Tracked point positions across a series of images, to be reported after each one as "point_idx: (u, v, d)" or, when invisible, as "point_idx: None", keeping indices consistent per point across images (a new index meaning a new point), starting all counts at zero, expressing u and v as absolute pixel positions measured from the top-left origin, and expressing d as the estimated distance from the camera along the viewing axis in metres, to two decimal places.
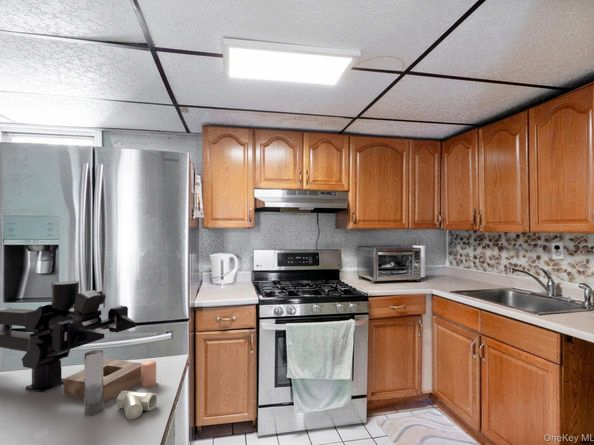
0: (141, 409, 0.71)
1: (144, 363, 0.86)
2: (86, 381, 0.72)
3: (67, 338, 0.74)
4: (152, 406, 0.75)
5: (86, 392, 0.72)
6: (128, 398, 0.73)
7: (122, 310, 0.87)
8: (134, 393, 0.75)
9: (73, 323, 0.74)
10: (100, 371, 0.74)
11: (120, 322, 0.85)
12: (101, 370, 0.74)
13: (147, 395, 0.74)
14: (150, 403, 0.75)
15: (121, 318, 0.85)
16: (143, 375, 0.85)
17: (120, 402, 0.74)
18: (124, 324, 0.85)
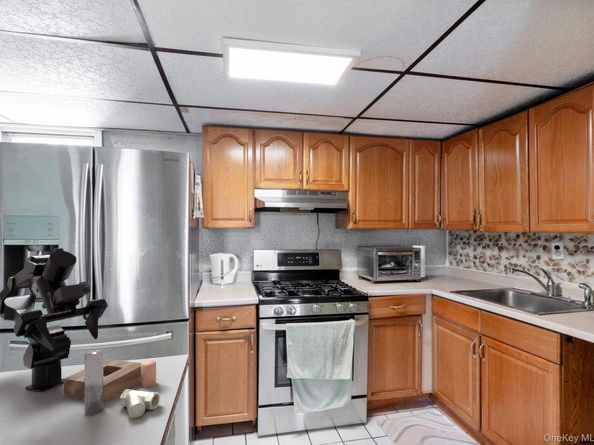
0: (143, 408, 0.72)
1: (144, 363, 0.86)
2: (86, 381, 0.72)
3: (26, 330, 0.74)
4: (155, 405, 0.75)
5: (86, 392, 0.72)
6: (131, 397, 0.73)
7: (98, 310, 0.85)
8: (137, 392, 0.75)
9: (36, 322, 0.74)
10: (100, 371, 0.74)
11: (90, 321, 0.85)
12: (101, 370, 0.74)
13: (150, 394, 0.74)
14: (153, 402, 0.76)
15: (92, 319, 0.84)
16: (143, 375, 0.85)
17: (123, 401, 0.74)
18: (91, 327, 0.84)
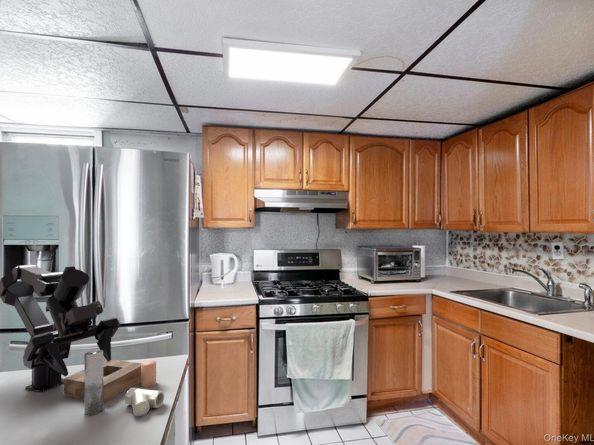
0: (148, 406, 0.72)
1: (144, 363, 0.86)
2: (86, 381, 0.72)
3: (38, 355, 0.71)
4: (159, 404, 0.76)
5: (86, 392, 0.72)
6: (136, 395, 0.74)
7: (111, 330, 0.82)
8: (142, 390, 0.76)
9: (48, 346, 0.71)
10: (100, 371, 0.73)
11: (102, 342, 0.81)
12: (101, 370, 0.74)
13: (154, 393, 0.75)
14: (157, 401, 0.76)
15: (104, 341, 0.81)
16: (143, 375, 0.85)
17: (128, 399, 0.75)
18: (103, 348, 0.81)
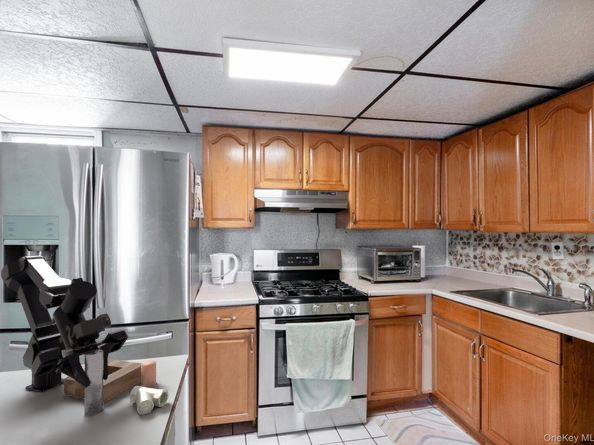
0: (152, 405, 0.73)
1: (144, 363, 0.86)
2: None
3: (59, 366, 0.71)
4: (163, 402, 0.76)
5: (86, 392, 0.72)
6: (140, 393, 0.75)
7: (108, 346, 0.78)
8: (146, 389, 0.77)
9: (69, 357, 0.71)
10: (100, 371, 0.73)
11: None
12: (101, 370, 0.74)
13: (158, 391, 0.75)
14: (162, 399, 0.77)
15: None
16: (143, 375, 0.85)
17: (133, 397, 0.76)
18: None
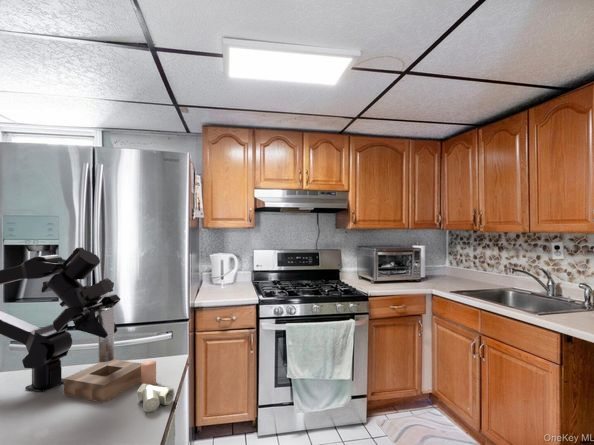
0: (158, 403, 0.74)
1: (144, 363, 0.86)
2: None
3: (78, 322, 0.81)
4: (169, 400, 0.77)
5: (103, 342, 0.84)
6: (147, 391, 0.76)
7: (110, 306, 0.90)
8: (153, 387, 0.78)
9: (90, 313, 0.82)
10: (113, 324, 0.86)
11: None
12: None
13: (164, 390, 0.76)
14: (168, 397, 0.78)
15: None
16: (143, 375, 0.85)
17: (140, 395, 0.77)
18: None
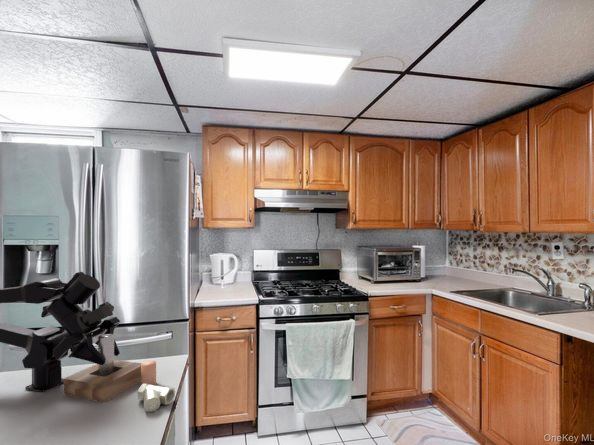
0: (159, 403, 0.74)
1: (144, 363, 0.86)
2: None
3: (75, 350, 0.80)
4: (170, 400, 0.77)
5: (103, 370, 0.84)
6: (147, 391, 0.76)
7: (113, 329, 0.91)
8: (153, 387, 0.78)
9: (87, 340, 0.81)
10: (113, 351, 0.86)
11: None
12: None
13: (165, 389, 0.76)
14: (168, 397, 0.78)
15: None
16: (143, 375, 0.85)
17: (141, 394, 0.77)
18: None
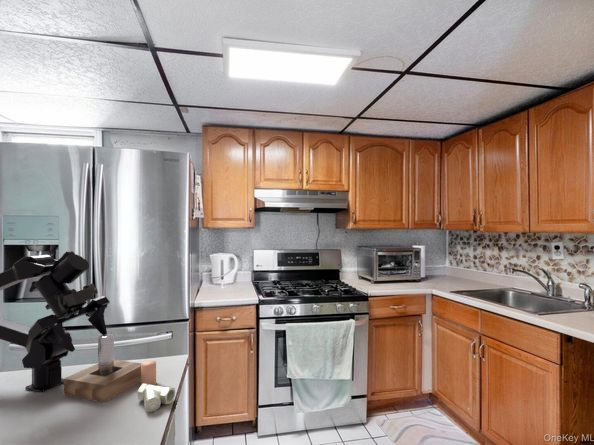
0: (159, 402, 0.74)
1: (144, 363, 0.86)
2: (103, 360, 0.84)
3: (43, 335, 0.78)
4: (170, 400, 0.77)
5: (102, 370, 0.84)
6: (148, 391, 0.76)
7: (103, 308, 0.91)
8: (154, 387, 0.78)
9: (55, 327, 0.78)
10: (113, 351, 0.86)
11: (95, 319, 0.90)
12: (113, 350, 0.86)
13: (165, 389, 0.76)
14: (168, 397, 0.78)
15: (98, 317, 0.90)
16: (143, 375, 0.85)
17: (141, 394, 0.77)
18: (97, 324, 0.90)
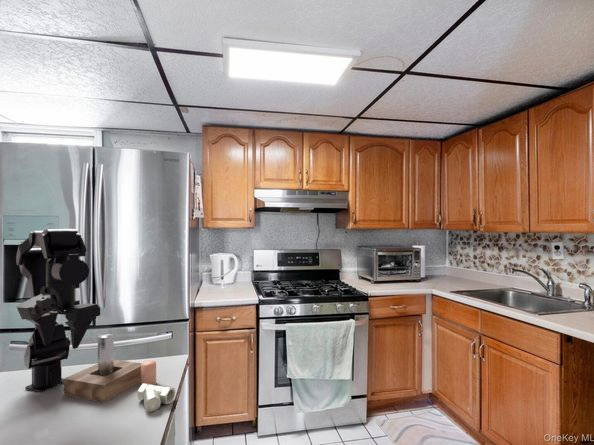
0: (159, 402, 0.74)
1: (144, 363, 0.86)
2: (102, 360, 0.84)
3: None
4: (170, 400, 0.77)
5: (102, 370, 0.84)
6: (148, 391, 0.76)
7: (71, 324, 0.74)
8: (154, 386, 0.78)
9: (28, 320, 0.78)
10: (113, 350, 0.86)
11: None
12: (113, 350, 0.86)
13: (165, 389, 0.76)
14: (168, 397, 0.78)
15: None
16: (143, 375, 0.85)
17: (141, 394, 0.77)
18: None
